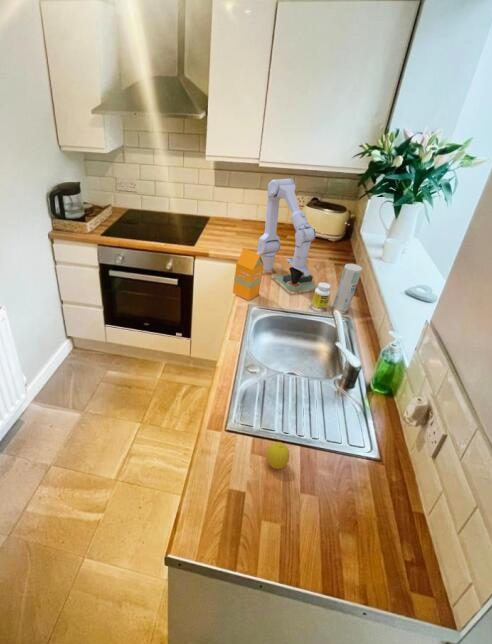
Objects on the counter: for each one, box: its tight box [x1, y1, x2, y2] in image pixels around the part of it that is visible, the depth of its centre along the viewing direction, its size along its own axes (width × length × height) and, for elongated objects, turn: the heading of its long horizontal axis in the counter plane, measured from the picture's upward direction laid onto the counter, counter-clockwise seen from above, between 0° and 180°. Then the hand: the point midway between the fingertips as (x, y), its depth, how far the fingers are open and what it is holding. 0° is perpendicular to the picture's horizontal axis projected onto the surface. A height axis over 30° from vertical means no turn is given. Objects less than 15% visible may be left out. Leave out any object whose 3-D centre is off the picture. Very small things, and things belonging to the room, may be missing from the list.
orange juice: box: [232, 248, 264, 301], centre depth 171 cm, size 8×9×20 cm
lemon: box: [265, 441, 290, 470], centre depth 99 cm, size 6×6×8 cm
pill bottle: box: [311, 282, 332, 310], centre depth 165 cm, size 6×6×11 cm
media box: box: [272, 273, 318, 293], centre depth 184 cm, size 16×14×4 cm
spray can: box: [332, 263, 363, 312], centre depth 162 cm, size 6×6×20 cm
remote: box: [283, 274, 314, 283], centre depth 185 cm, size 13×4×3 cm, turn 109°
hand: (294, 283), depth 178 cm, fingers closed, pressing on power button
